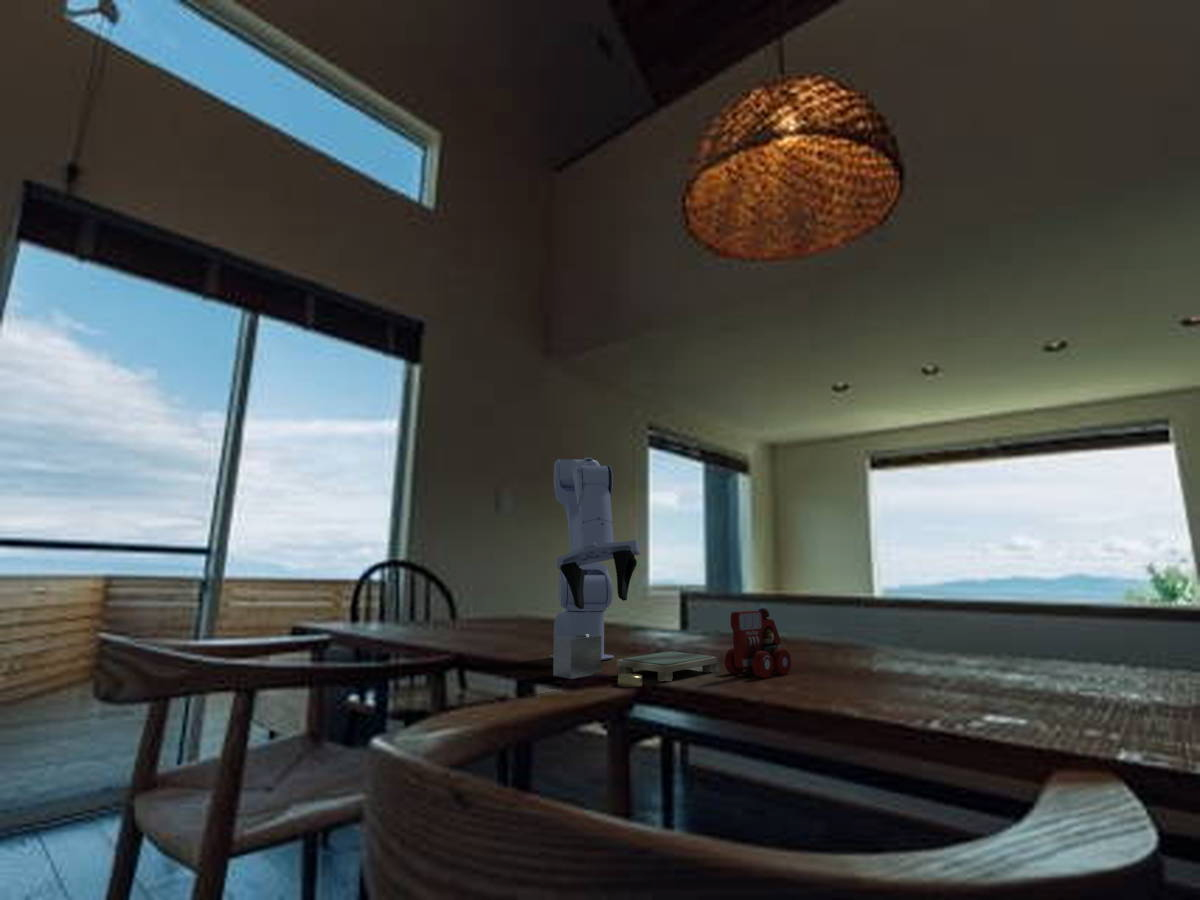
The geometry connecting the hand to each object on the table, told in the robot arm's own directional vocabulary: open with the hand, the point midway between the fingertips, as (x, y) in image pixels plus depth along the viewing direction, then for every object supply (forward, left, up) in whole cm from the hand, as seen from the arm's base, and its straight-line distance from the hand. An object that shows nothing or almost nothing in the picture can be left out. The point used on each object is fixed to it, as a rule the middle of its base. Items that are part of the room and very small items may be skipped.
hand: (600, 603), depth 106 cm
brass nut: (+8, -3, -12) cm, 14 cm away
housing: (-4, -2, -11) cm, 12 cm away
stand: (+6, +9, -11) cm, 16 cm away
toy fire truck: (+17, +19, -12) cm, 28 cm away
